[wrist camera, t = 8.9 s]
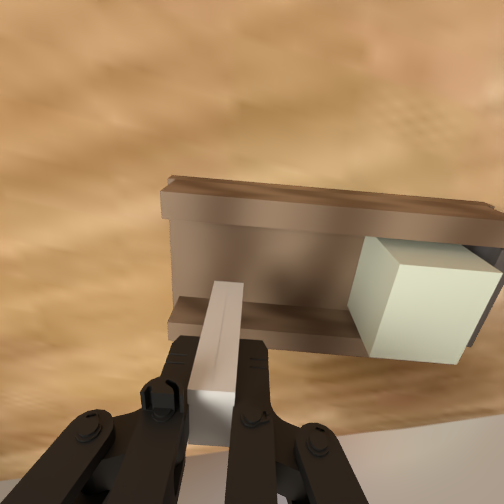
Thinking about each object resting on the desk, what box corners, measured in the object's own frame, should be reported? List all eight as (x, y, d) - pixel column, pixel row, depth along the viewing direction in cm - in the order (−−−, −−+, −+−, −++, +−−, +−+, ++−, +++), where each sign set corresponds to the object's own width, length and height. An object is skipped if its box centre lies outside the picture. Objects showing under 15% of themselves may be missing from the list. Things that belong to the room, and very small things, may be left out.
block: (347, 305, 21) (369, 357, 17) (367, 227, 19) (399, 264, 14) (416, 311, 21) (456, 364, 17) (446, 234, 19) (503, 273, 14)
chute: (176, 304, 23) (160, 339, 20) (172, 175, 19) (150, 190, 15) (430, 326, 23) (461, 365, 20) (483, 202, 19) (535, 223, 15)
